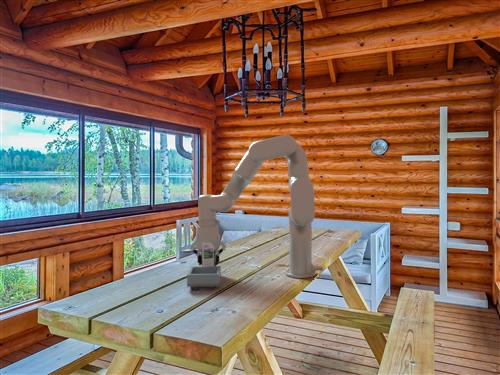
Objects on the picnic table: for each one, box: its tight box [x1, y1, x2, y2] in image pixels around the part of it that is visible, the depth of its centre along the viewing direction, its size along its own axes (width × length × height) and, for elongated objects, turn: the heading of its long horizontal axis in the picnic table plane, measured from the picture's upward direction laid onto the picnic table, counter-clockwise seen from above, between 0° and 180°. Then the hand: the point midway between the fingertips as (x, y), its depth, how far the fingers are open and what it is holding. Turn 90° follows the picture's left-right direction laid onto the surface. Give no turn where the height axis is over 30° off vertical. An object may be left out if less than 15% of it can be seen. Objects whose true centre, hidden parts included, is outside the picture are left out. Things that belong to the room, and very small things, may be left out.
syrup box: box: [200, 242, 217, 266], centre depth 162 cm, size 6×6×14 cm
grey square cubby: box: [186, 265, 222, 291], centre depth 147 cm, size 12×12×6 cm
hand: (208, 264), depth 163 cm, fingers closed on syrup box, 6 cm apart
